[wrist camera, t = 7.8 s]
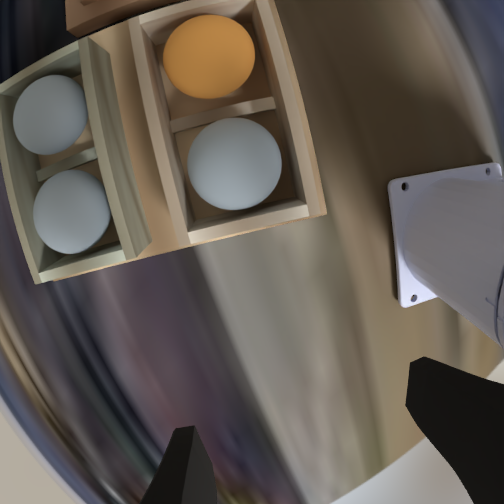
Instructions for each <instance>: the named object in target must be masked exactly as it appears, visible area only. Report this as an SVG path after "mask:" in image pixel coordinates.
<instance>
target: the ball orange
mask: <svg viewBox="0 0 504 504" xmlns="http://www.w3.org/2000/svg"><path fill="white" fill-rule="evenodd" d="M254 62H255V49H254V44H253V42H252V39H251V37H250V35H249V34H248V32H247V31H246V30H245V29H244V28H243V27H242V26H241V25H240V24H239V23H237V22H236V21H234V20H232V19H230V18H227V17H224V16H220V15H202V16H197V17H194V18H191V19H189V20H187V21H185V22H184V23H182V24H181V25H180V26H178V27H177V28H176V29H175V30H174V31H173V32H172V34H171V35H170V37H169V38H168V40H167V42H166V44H165V48H164V52H163V65H164V69H165V72H166V75H167V77H168V79H169V80H170V81H171V83H172V84H173V85H174V86H175V87H176V88H177V89H179V90H180V91H181V92H183V93H185V94H187V95H189V96H192V97H195V98H201V99H214V98H219V97H222V96H225V95H228V94H230V93H232V92H233V91H235V90H236V89H238V88H239V87H240V86H241V85H242V84H243V83H244V82H245V81H246V80H247V79H248V77H249V75H250V73H251V71H252V69H253V66H254Z"/></svg>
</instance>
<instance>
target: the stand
mask: <svg viewBox="0 0 504 504" xmlns="http://www.w3.org/2000/svg"><path fill="white" fill-rule="evenodd" d="M177 1H181V0H65V7H66V25H67V31H68V32H70V33H71V34H73V35H74V36H76V37H77V38H79V37H81V36H83V35H86V34H88V33H90V32H92V31H95V30H97V29H99V28H102V27H104V26H106V25H109V24H111V23H114V22H116V21H119V20H122V19H124V18H127V17H130V16H133V15H135V14H138V13H141V12H144V11H147V10H150V9H153V8H157V7H160V6H163V5H167V4H170V3H174V2H177Z"/></svg>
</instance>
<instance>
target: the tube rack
mask: <svg viewBox="0 0 504 504" xmlns="http://www.w3.org/2000/svg"><path fill="white" fill-rule="evenodd" d="M202 15H220V16H224V17H227V18H230V19H232V20H234V21H236V22H237V23H239V24H240V25H241V26H242V27H243V28H244V29H245V30H246V31H247V32H248V34H249V35H250V37H251V39H252V42H253V44H254V49H255V62H254V66H253V69H252V71H251V73H250V75H249V77H248V79H247V80H246V81H245V82H244V83H243V84H242V85H241V86H240V87H239V88H238V89H236V90H235V91H233V92H232V93H230V94H228V95H225V96H222V97H219V98H214V99H201V98H195V97H192V96H189V95H187V94H185V93H183V92H181V91H180V90H179V89H177V88H176V87H175V86H174V85H173V84H172V83H171V81H170V80H169V79H168V77H167V75H166V72H165V69H164V65H163V52H164V48H165V44H166V42H167V40H168V38H169V37H170V35H171V34H172V32H173V31H174V30H175V29H176V28H177V27H178V26H180V25H181V24H182V23H184V22H185V21H187V20H189V19H191V18H194V17H197V16H202ZM50 75H63V76H67V77H69V78H71V79H73V80H75V81H76V82H77V83H78V84H79V85H80V86H81V87H82V88H83V90H84V92H85V97H86V103H87V109H88V120H87V123H86V126H85V128H84V130H83V132H82V134H81V135H80V137H79V138H78V139H77V140H76V141H75V142H74V143H73V144H72V145H71V146H70V147H68V148H67V149H65V150H63V151H61V152H59V153H56V154H51V155H41V154H36V153H33V152H31V151H29V150H28V149H26V148H25V147H24V146H23V145H22V144H21V143H20V141H19V140H18V138H17V136H16V134H15V131H14V126H13V115H14V110H15V106H16V104H17V101H18V99H19V97H20V96H21V94H22V93H23V92H24V90H25V89H26V88H27V87H28V86H29V85H31V84H32V83H33V82H35V81H36V80H38V79H40V78H42V77H45V76H50ZM235 117H236V118H244V119H249V120H251V121H254V122H256V123H258V124H260V125H261V126H263V127H264V128H265V129H266V130H267V131H268V132H269V133H270V134H271V135H272V136H273V138H274V139H275V141H276V142H277V145H278V147H279V150H280V153H281V159H282V167H281V174H280V178H279V180H278V183H277V185H276V187H275V188H274V190H273V191H272V192H271V194H270V195H269V196H268V197H267V198H266V199H264V200H263V201H262V202H260V203H259V204H257V205H255V206H253V207H251V208H247V209H243V210H225V209H221V208H218V207H215V206H213V205H211V204H209V203H208V202H206V201H205V200H204V199H203V198H202V197H200V195H199V194H198V193H197V192H196V191H195V189H194V187H193V186H192V184H191V181H190V179H189V175H188V170H187V159H188V153H189V150H190V147H191V145H192V143H193V141H194V139H195V138H196V137H197V135H198V134H199V133H200V132H201V131H202V130H203V129H204V128H205V127H207V126H208V125H210V124H211V123H213V122H216V121H218V120H221V119H225V118H235ZM0 159H1V165H2V170H3V175H4V180H5V185H6V189H7V194H8V198H9V202H10V206H11V210H12V214H13V218H14V221H15V225H16V228H17V232H18V235H19V238H20V242H21V245H22V248H23V251H24V254H25V257H26V260H27V263H28V266H29V269H30V272H31V274H32V277H33V280H34V282H35V284H39V283H43V282H46V281H50V280H53V281H57V280H61V279H64V278H68V277H72V276H76V275H80V274H83V273H87V272H91V271H95V270H99V269H103V268H106V267H110V266H114V265H118V264H122V263H126V262H130V261H134V260H138V259H142V258H146V257H150V256H154V255H158V254H162V253H166V252H170V251H174V250H178V249H182V248H186V247H190V246H194V245H198V244H202V243H206V242H211V241H215V240H219V239H223V238H227V237H231V236H236V235H240V234H244V233H248V232H253V231H257V230H261V229H265V228H270V227H274V226H278V225H283V224H287V223H291V222H296V221H300V220H304V219H309V218H313V217H318V216H322V215H327V211H326V206H325V200H324V195H323V190H322V185H321V179H320V175H319V170H318V165H317V160H316V155H315V151H314V146H313V142H312V137H311V133H310V128H309V124H308V120H307V116H306V112H305V107H304V103H303V99H302V95H301V92H300V88H299V84H298V80H297V76H296V73H295V69H294V65H293V62H292V58H291V54H290V51H289V47H288V44H287V41H286V37H285V34H284V31H283V27H282V24H281V21H280V18H279V14H278V11H277V8H276V5H275V2H274V0H190V1H186V2H182V3H178V4H175V5H171V6H168V7H164V8H161V9H158V10H154V11H151V12H148V13H145V14H142V15H139V16H136V17H133V18H131V19H128V20H127V21H124V22H121V23H119V24H116V25H113V26H111V27H108V28H106V29H104V30H101V31H99V32H96V33H94V34H92V35H90V36H86V37H84V38H82V39H80V40H78V41H75V42H73V43H71V44H69V45H67V46H65V47H63V48H61V49H59V50H57V51H55V52H54V53H52V54H50V55H48V56H46V57H44V58H43V59H41V60H39V61H37V62H35V63H34V64H32V65H30V66H29V67H27V68H25V69H24V70H22V71H20V72H19V73H17V74H16V75H14V76H12V77H11V78H9V79H8V80H6V81H5V82H3V83H2V84H0ZM66 170H81V171H85V172H87V173H90V174H92V175H93V176H95V177H96V178H97V179H98V180H99V181H100V182H101V183H102V184H103V185H104V187H105V190H106V194H107V198H108V202H109V205H110V209H111V218H110V222H109V226H108V228H107V230H106V232H105V234H104V236H103V237H102V238H101V240H100V241H99V242H98V243H97V244H96V245H94V246H93V247H92V248H90V249H88V250H86V251H84V252H81V253H76V254H66V253H61V252H58V251H56V250H54V249H52V248H50V247H49V246H48V245H47V244H46V243H45V242H44V241H43V240H42V239H41V238H40V236H39V234H38V233H37V230H36V228H35V225H34V219H33V207H34V202H35V199H36V196H37V194H38V192H39V190H40V188H41V187H42V186H43V184H44V183H45V182H46V181H47V180H48V179H49V178H51V177H52V176H54V175H55V174H57V173H59V172H62V171H66Z"/></svg>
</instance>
